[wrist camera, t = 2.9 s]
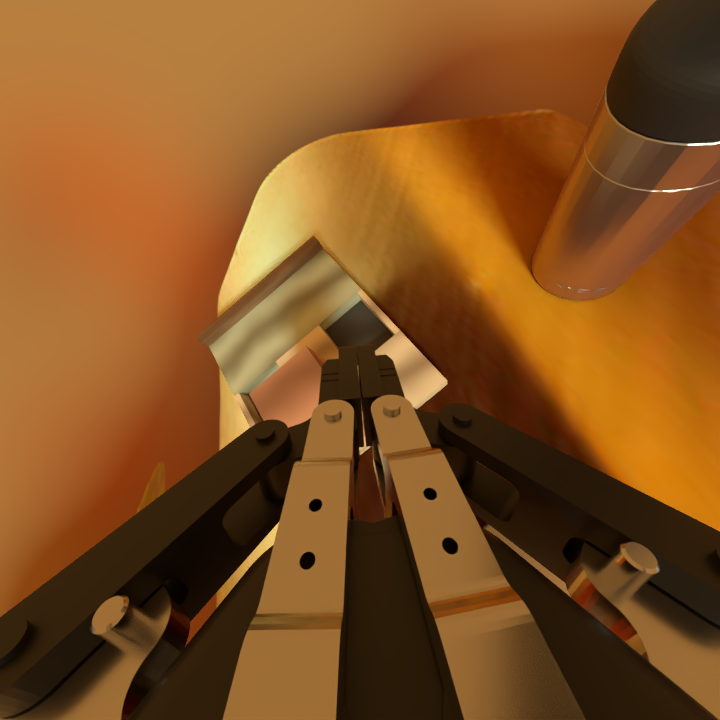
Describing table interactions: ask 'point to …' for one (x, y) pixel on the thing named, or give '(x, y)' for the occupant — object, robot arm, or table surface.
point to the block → (291, 390)
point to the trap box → (309, 329)
